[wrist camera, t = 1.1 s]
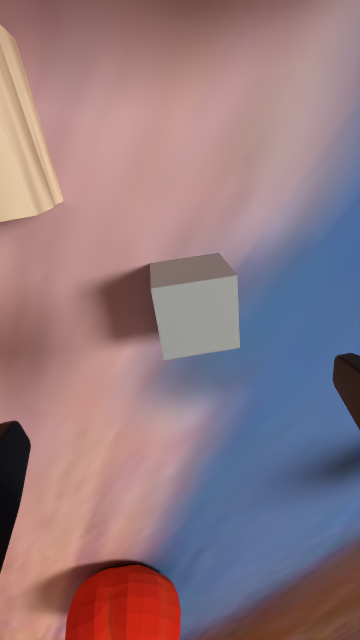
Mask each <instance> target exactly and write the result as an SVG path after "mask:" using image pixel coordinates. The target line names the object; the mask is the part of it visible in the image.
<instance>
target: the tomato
mask: <svg viewBox="0 0 360 640" xmlns="http://www.w3.org/2000/svg"><path fill="white" fill-rule="evenodd" d="M180 619H181V609H180V604H179V598H178V594H177V591H176V589H175V587H174V584H173V583H172V582H171V581H170V580H169V579H168V578H167V577H166V576H164V575H162V574H160V573H157V572H155V571H153V570H152V569H150V568H148V567H145V566H141V565H138V564H137V565H129V566H124V567H114V568H108V569H105V570H102V571H100V572H98V573H96V574H94V575H93V576H91V577H90V578H88V579H87V580H86V581H85V582H84V583H83V584H81V585H80V586H79V588H78V590H77V592H76V593H75V595H74V597H73V599H72V602H71V606H70V609H69V613H68V617H67V622H66V636H65V640H179V638H180Z"/></svg>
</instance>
